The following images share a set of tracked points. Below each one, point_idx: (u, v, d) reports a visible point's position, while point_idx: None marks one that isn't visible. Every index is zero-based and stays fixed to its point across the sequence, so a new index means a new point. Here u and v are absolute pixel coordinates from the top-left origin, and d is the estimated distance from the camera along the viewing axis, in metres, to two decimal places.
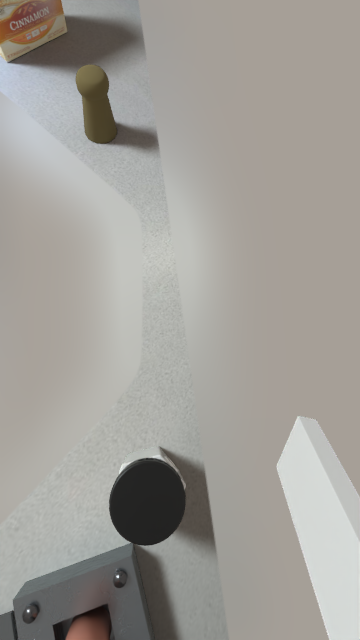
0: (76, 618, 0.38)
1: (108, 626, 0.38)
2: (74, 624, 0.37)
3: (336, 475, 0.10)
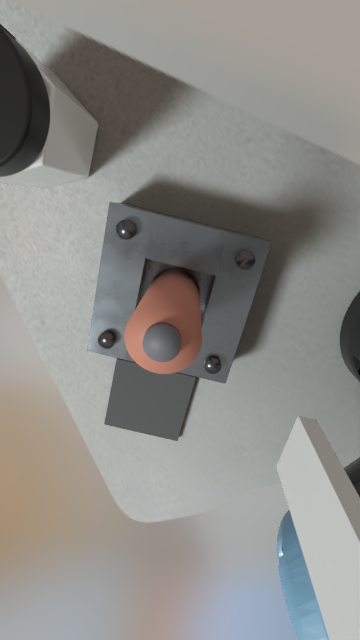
0: None
1: (176, 271, 0.29)
2: None
3: (336, 475, 0.10)
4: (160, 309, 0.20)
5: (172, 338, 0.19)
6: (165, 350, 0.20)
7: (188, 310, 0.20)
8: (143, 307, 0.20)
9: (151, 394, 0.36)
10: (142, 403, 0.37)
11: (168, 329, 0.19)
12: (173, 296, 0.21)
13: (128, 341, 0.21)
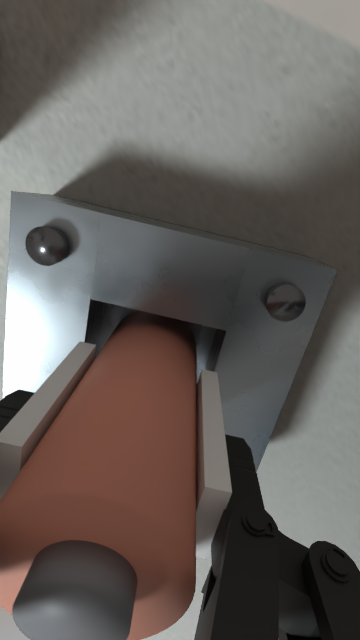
0: None
1: (152, 319, 0.16)
2: None
3: (211, 408, 0.12)
4: (68, 512, 0.06)
5: (102, 610, 0.06)
6: (84, 633, 0.07)
7: (154, 506, 0.07)
8: (16, 504, 0.06)
9: None
10: None
11: (87, 589, 0.06)
12: (119, 442, 0.08)
13: None
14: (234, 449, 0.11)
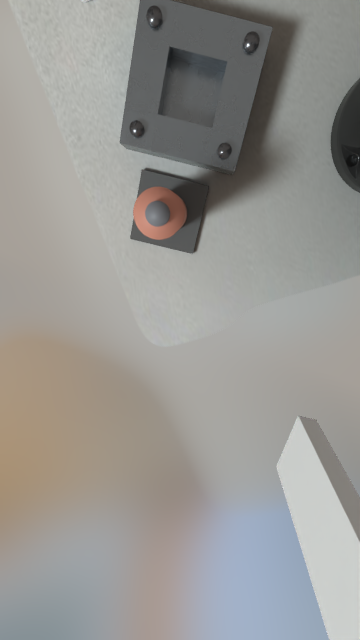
0: None
1: None
2: None
3: (336, 475, 0.10)
4: (156, 191, 0.31)
5: (164, 209, 0.31)
6: (159, 218, 0.31)
7: (174, 193, 0.31)
8: (145, 190, 0.31)
9: None
10: None
11: (161, 202, 0.30)
12: None
13: (136, 215, 0.32)
14: None
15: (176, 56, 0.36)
